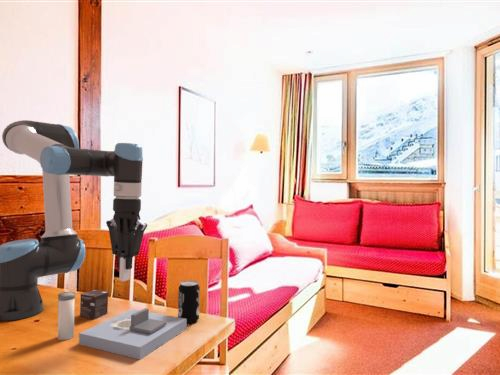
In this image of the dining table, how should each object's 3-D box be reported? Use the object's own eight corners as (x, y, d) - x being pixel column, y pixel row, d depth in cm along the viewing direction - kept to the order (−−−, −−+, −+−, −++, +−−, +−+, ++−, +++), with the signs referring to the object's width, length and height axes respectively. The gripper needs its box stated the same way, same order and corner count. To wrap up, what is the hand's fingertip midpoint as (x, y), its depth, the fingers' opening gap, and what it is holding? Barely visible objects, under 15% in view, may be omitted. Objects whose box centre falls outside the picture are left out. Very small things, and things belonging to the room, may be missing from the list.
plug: (53, 338, 100) (54, 294, 100) (66, 333, 103) (67, 290, 103) (65, 341, 98) (65, 297, 98) (77, 335, 102) (78, 292, 102)
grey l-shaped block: (129, 329, 99) (129, 315, 99) (146, 320, 105) (146, 307, 105) (150, 333, 96) (151, 319, 96) (166, 324, 103) (166, 311, 103)
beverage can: (194, 325, 111) (195, 286, 111) (174, 323, 112) (175, 284, 112) (201, 317, 117) (202, 280, 117) (182, 316, 119) (183, 279, 119)
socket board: (78, 344, 96) (79, 333, 96) (132, 318, 116) (132, 308, 116) (140, 359, 89) (140, 347, 89) (186, 328, 108) (186, 318, 108)
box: (79, 317, 116) (79, 294, 116) (94, 311, 122) (94, 289, 122) (94, 319, 114) (94, 296, 114) (108, 313, 119) (108, 291, 119)
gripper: (99, 196, 103) (97, 279, 103) (137, 199, 98) (134, 286, 98) (118, 196, 109) (116, 274, 110) (154, 198, 105) (151, 280, 105)
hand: (124, 279), depth 104 cm, fingers closed
